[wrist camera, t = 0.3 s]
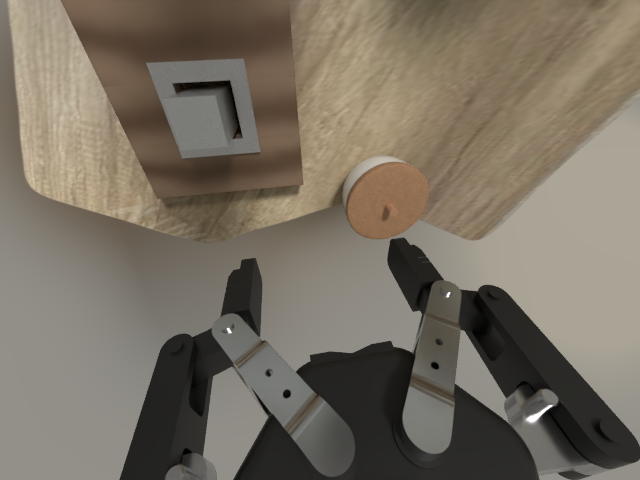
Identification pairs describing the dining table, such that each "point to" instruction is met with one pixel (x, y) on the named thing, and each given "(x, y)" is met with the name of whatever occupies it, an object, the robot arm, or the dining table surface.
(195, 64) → the mount plate
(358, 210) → the lidded bowl
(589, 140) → the dining table surface
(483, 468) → the robot arm
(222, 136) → the brushed steel block
